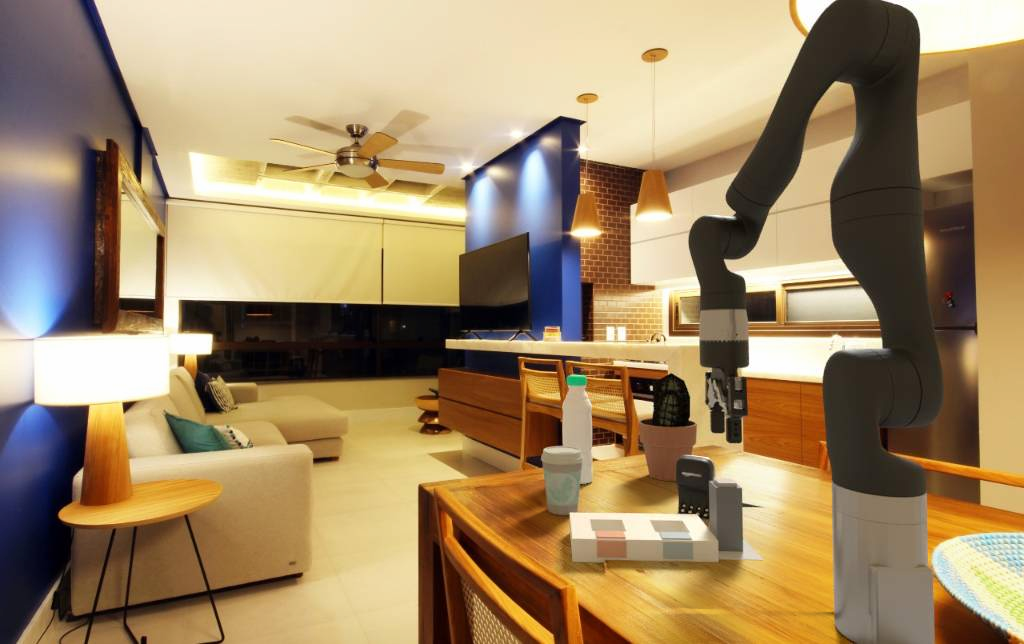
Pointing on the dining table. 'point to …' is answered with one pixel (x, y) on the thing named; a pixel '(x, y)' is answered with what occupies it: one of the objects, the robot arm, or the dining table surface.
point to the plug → (726, 514)
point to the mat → (740, 553)
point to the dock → (641, 537)
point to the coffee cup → (562, 478)
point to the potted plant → (668, 428)
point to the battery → (694, 484)
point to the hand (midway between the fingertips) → (725, 437)
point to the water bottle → (578, 423)
